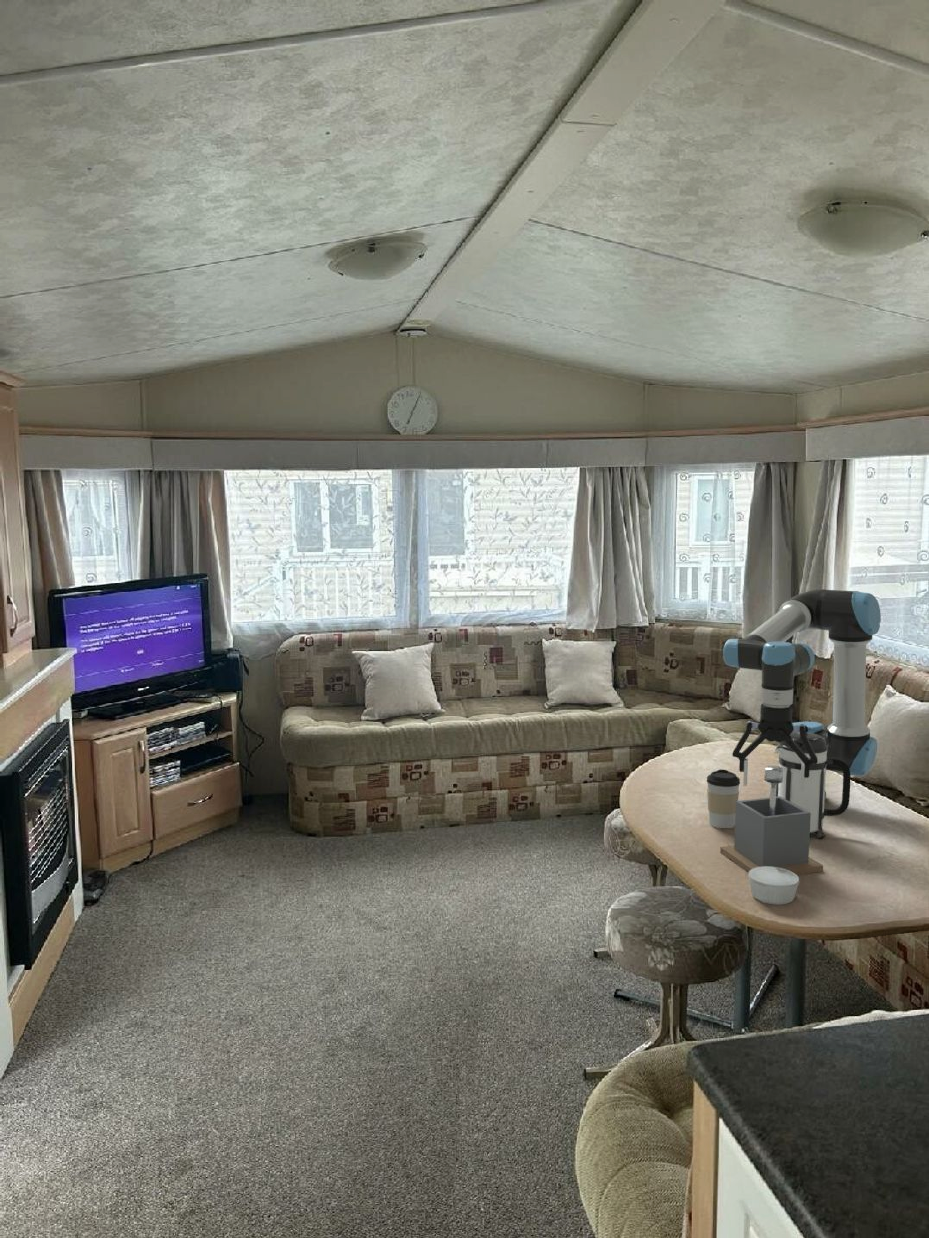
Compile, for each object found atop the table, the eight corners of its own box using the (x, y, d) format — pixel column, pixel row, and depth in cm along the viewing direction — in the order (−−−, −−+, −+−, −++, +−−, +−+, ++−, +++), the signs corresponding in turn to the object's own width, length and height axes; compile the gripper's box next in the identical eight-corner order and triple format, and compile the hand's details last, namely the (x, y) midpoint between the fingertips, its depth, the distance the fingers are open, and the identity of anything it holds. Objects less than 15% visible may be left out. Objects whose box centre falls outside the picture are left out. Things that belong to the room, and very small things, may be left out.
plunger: (776, 841, 250) (779, 761, 247) (798, 854, 241) (802, 772, 238) (743, 845, 247) (746, 764, 244) (764, 859, 238) (768, 775, 235)
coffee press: (807, 846, 254) (812, 736, 250) (759, 828, 267) (763, 723, 263) (849, 833, 263) (854, 726, 259) (801, 816, 277) (805, 714, 272)
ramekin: (808, 899, 223) (809, 877, 222) (778, 911, 217) (778, 889, 216) (768, 882, 232) (768, 862, 231) (737, 894, 226) (738, 873, 225)
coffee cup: (739, 831, 266) (741, 778, 263) (706, 829, 267) (707, 777, 265) (737, 819, 274) (739, 769, 272) (704, 817, 276) (706, 767, 274)
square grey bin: (780, 844, 255) (782, 792, 253) (822, 871, 238) (825, 815, 236) (720, 852, 251) (722, 798, 249) (758, 879, 234) (761, 822, 231)
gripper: (723, 704, 239) (720, 786, 242) (830, 711, 231) (826, 796, 234) (725, 697, 246) (723, 777, 249) (829, 704, 238) (826, 787, 241)
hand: (773, 787), depth 242 cm, fingers open, 13 cm apart
